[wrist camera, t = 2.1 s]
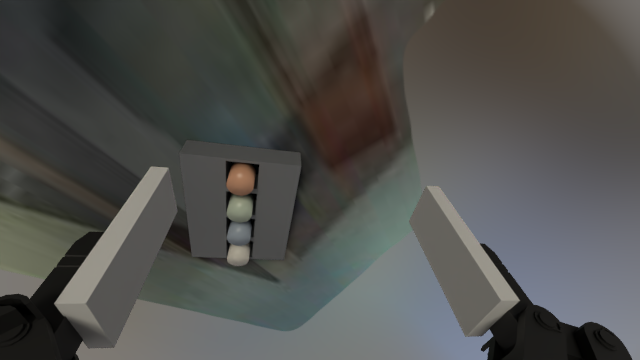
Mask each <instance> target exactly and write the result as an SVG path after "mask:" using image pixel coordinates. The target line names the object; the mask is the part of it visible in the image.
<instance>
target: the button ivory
mask: <svg viewBox="0 0 640 360" xmlns="http://www.w3.org/2000/svg"><path fill="white" fill-rule="evenodd" d="M250 247H251V243H250V242H249V243H247V244H246V245H242V246H236V245H233V244H231V243H230V246H229V251H228V256H227V261H228V262H229V263H230V264H231V265H234V266H242V265H245V264H247V263H248V261H249V255H250Z"/></svg>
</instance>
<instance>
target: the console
mask: <svg viewBox="0 0 640 360" xmlns="http://www.w3.org/2000/svg"><path fill="white" fill-rule="evenodd" d="M179 157H180V165H181V173H182V181H183V189H184V197H185V205H186V213H187V221H188V228H189V236H190V244H191V252H192V257H214V258H227V256H228V251H229V246H230V243H229V242H228V240H227V234H228V230H229V225H230V219H229V218H228V216H227V209H228V205H229V200H230V191H229V190H228V188H227V186H226V183H227V179H228V176H229V172H230V161H231V162H241V163H251V164H259V175H255V181H254V188H253V190H252V192H251V193H253V194H257V200H254V203H253V210H252V216H251V218H250V219H255V222H252V229H251V237H250V241H253V242H250V243H251V247H250V255H249V259H269V260H284V256H285V251H286V246H287V240H288V235H289V230H290V224H291V219H292V214H293V208H294V203H295V197H296V192H297V187H298V181H299V176H300V171H301V156H300V153H298V152H289V151H280V150H272V149H263V148H254V147H245V146H237V145H228V144H219V143H210V142H202V141H193V140H186V142H185V144H184V146H183V147H182V149H181V151H180V152H179Z"/></svg>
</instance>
